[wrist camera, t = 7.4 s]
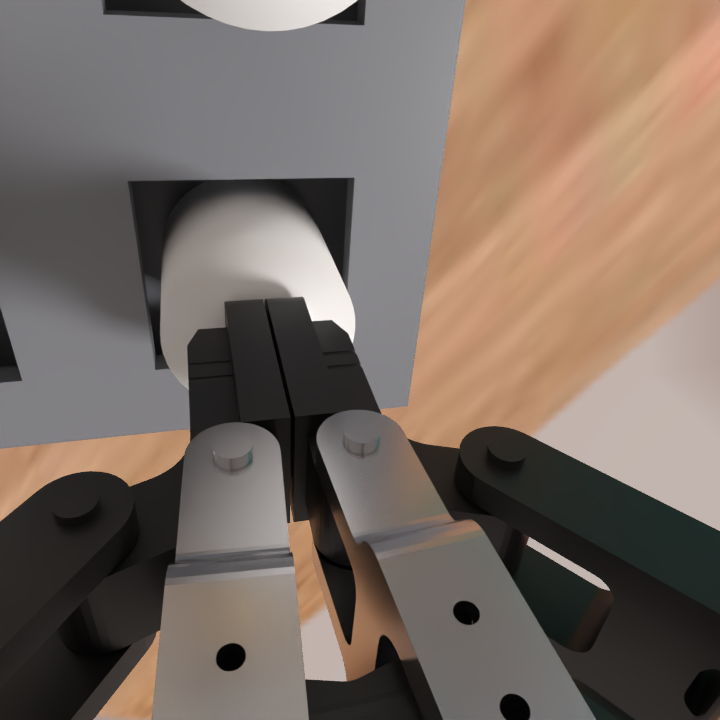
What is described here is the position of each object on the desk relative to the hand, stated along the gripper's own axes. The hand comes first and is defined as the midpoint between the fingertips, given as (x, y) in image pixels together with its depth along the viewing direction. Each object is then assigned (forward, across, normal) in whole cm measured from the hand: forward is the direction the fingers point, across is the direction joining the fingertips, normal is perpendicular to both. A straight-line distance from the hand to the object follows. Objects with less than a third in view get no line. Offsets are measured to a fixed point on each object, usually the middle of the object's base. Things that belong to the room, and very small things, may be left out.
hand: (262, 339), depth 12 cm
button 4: (+4, 0, 0) cm, 4 cm away
